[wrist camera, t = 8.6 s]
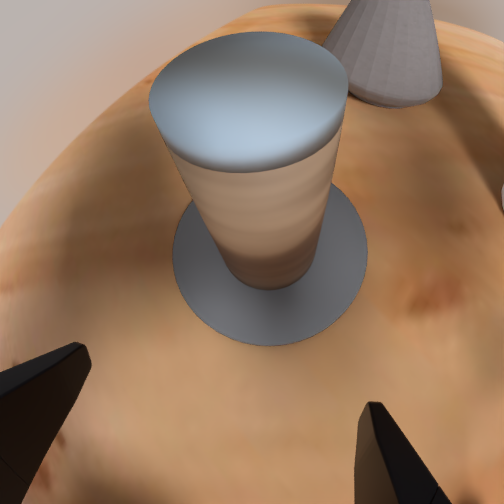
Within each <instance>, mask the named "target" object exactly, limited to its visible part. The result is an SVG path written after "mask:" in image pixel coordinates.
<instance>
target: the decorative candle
mask: <svg viewBox="0 0 504 504" xmlns="http://www.w3.org/2000/svg"><path fill="white" fill-rule="evenodd" d="M501 195H502V207H503V210H504V184H503V187H502V190H501Z"/></svg>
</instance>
